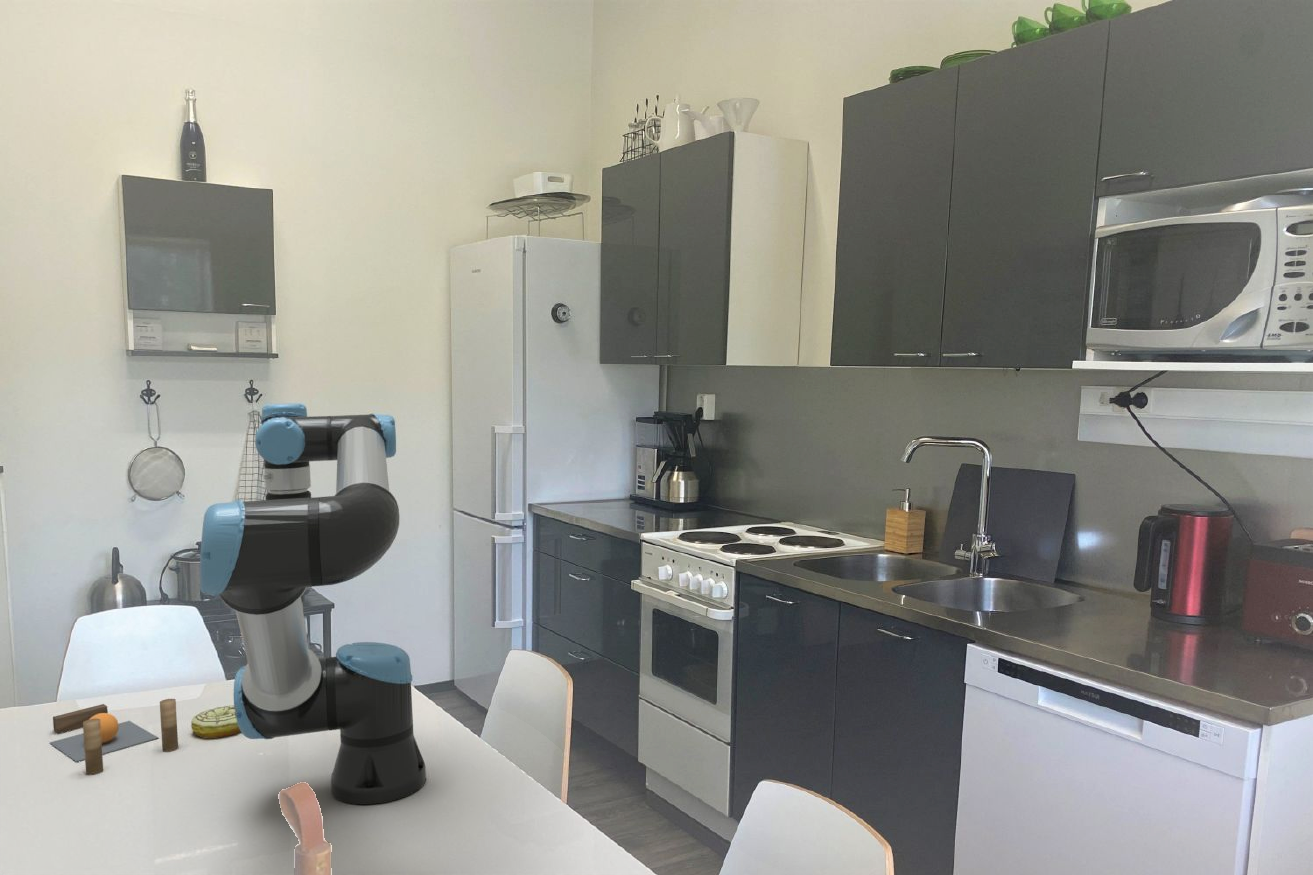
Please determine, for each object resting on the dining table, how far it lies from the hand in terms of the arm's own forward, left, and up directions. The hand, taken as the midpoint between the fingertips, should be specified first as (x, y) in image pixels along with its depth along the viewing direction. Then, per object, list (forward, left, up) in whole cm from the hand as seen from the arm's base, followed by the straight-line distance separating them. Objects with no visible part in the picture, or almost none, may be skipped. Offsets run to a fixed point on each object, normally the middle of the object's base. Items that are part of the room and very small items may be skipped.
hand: (294, 622), depth 169 cm
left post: (+22, +26, -24) cm, 42 cm away
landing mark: (+36, +20, -24) cm, 48 cm away
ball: (+35, +21, -22) cm, 46 cm away
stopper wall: (+48, +20, -24) cm, 57 cm away
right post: (+22, +14, -24) cm, 36 cm away
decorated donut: (+24, +3, -25) cm, 35 cm away
